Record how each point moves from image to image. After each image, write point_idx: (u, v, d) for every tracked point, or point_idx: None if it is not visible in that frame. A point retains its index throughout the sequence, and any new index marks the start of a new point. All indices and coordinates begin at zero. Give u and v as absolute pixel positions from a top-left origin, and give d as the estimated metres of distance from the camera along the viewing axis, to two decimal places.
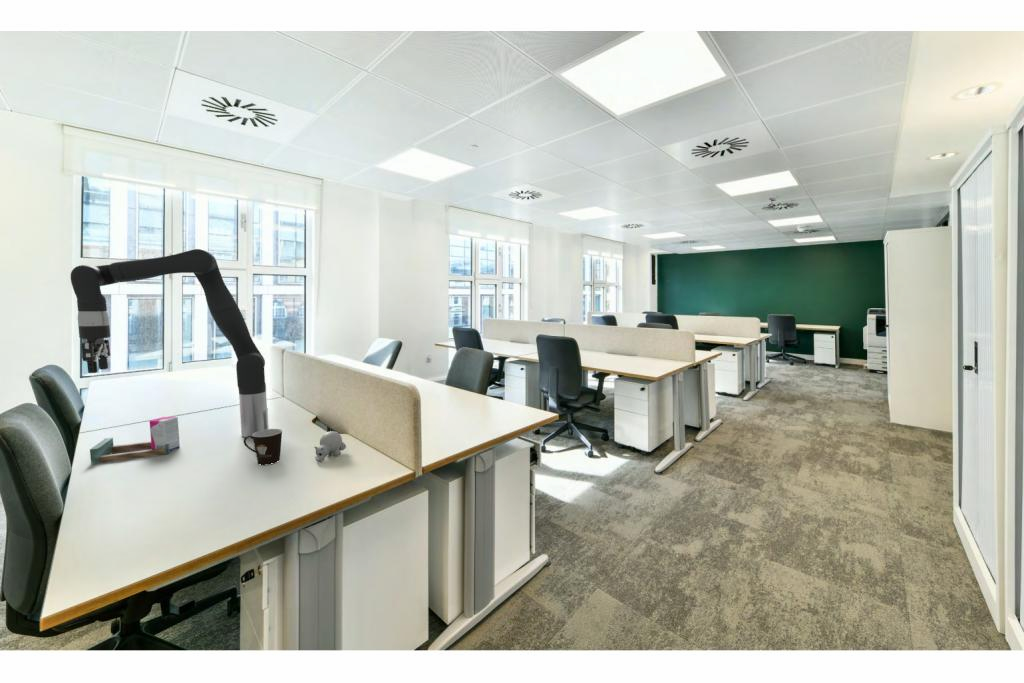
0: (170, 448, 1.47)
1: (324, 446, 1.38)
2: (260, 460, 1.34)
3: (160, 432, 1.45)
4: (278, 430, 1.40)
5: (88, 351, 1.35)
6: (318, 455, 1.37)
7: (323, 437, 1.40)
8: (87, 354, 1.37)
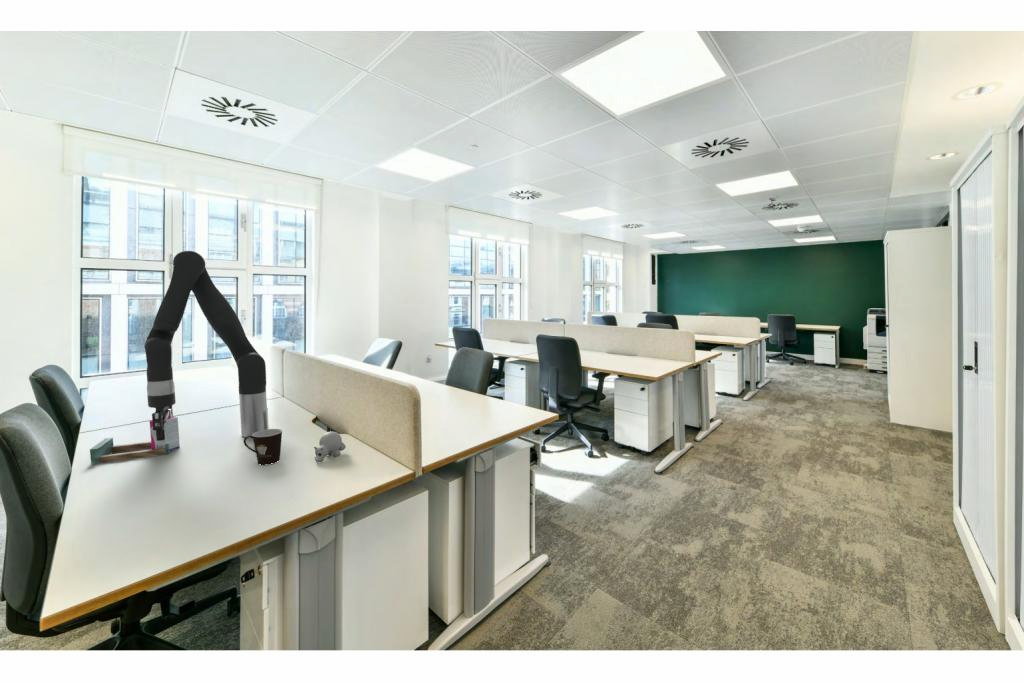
0: (170, 448, 1.47)
1: (324, 446, 1.38)
2: (260, 460, 1.34)
3: None
4: (278, 430, 1.40)
5: (158, 421, 1.41)
6: (318, 455, 1.36)
7: (323, 437, 1.40)
8: (156, 422, 1.43)
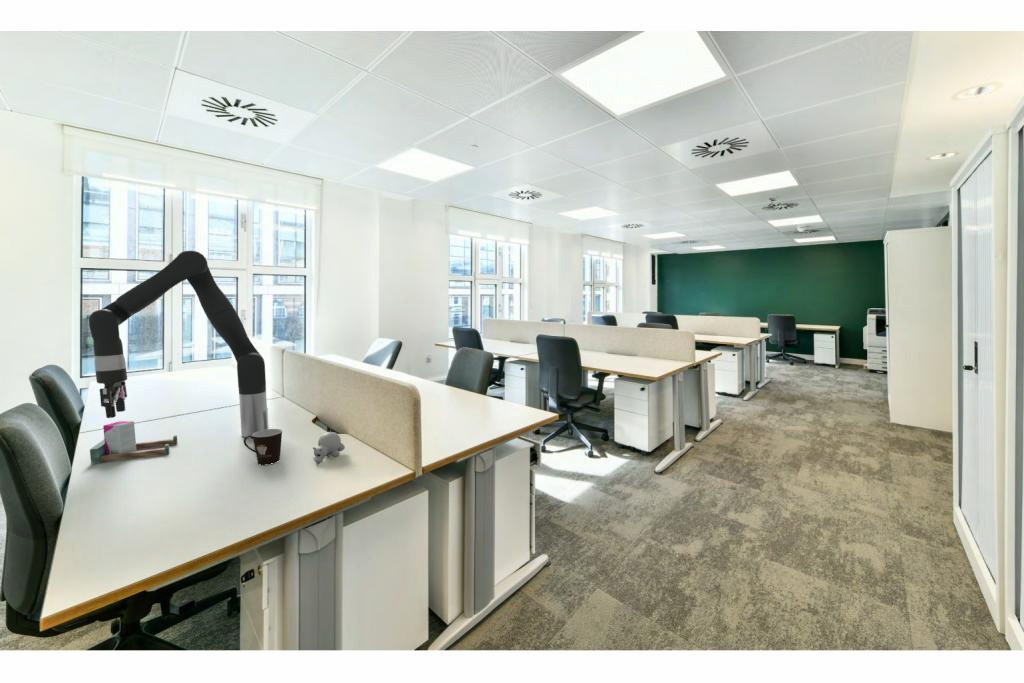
0: None
1: (322, 447, 1.38)
2: (260, 460, 1.34)
3: (114, 437, 1.39)
4: (278, 430, 1.40)
5: (106, 396, 1.34)
6: (316, 456, 1.36)
7: (322, 438, 1.39)
8: (105, 399, 1.36)
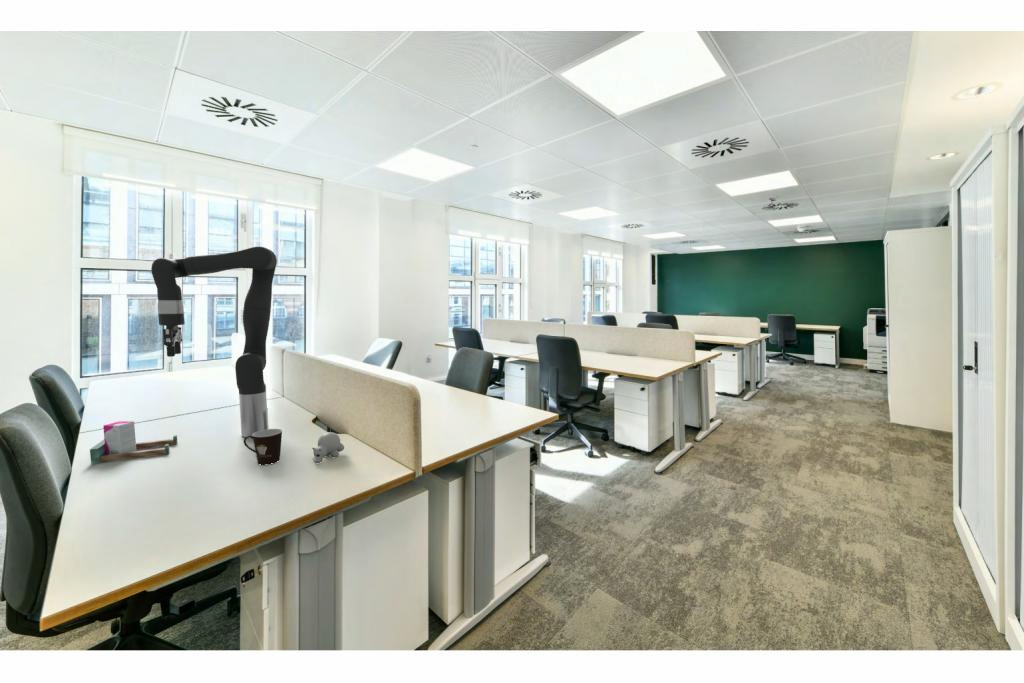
0: None
1: (322, 447, 1.37)
2: (260, 460, 1.34)
3: (114, 437, 1.39)
4: (278, 430, 1.40)
5: (168, 336, 1.49)
6: (316, 456, 1.36)
7: (321, 438, 1.39)
8: (166, 339, 1.51)
